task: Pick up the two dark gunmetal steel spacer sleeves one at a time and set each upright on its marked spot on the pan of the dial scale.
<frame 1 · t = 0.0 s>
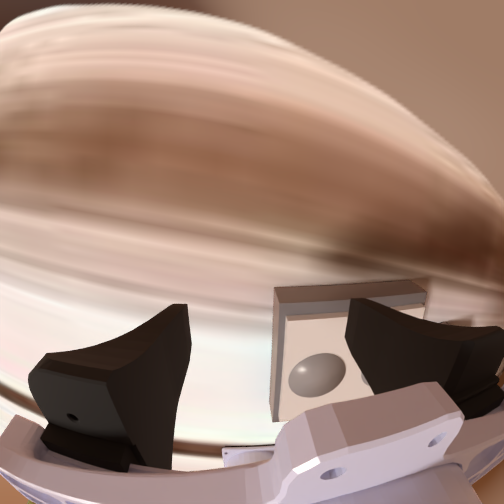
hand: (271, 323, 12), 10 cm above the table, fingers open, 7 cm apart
scale: (339, 347, 24), on the table
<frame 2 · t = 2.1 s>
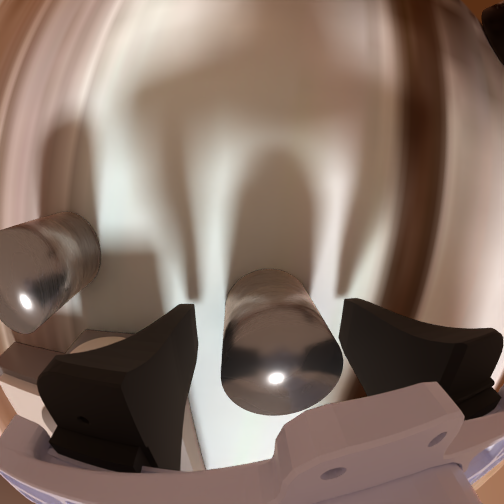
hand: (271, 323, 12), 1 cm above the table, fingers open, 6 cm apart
supplement bottle: (502, 45, 9), on the table
scale: (110, 424, 15), on the table
spacer b: (69, 250, 12), on the table
spacer a: (267, 308, 13), on the table
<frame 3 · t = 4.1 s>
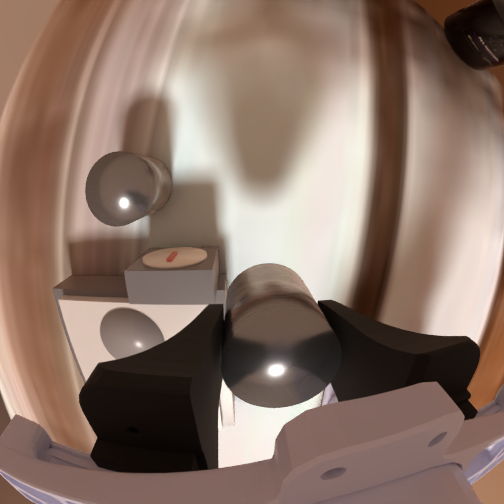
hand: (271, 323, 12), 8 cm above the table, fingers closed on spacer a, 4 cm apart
supplement bottle: (463, 44, 15), on the table
scale: (153, 347, 21), on the table
spacer b: (145, 185, 18), on the table
spacer a: (267, 303, 13), point 7 cm above the table, touching gripper
when the fingers open (6 cm above the table, at t = 5.6 s): spacer a stays where it is, resting on scale.
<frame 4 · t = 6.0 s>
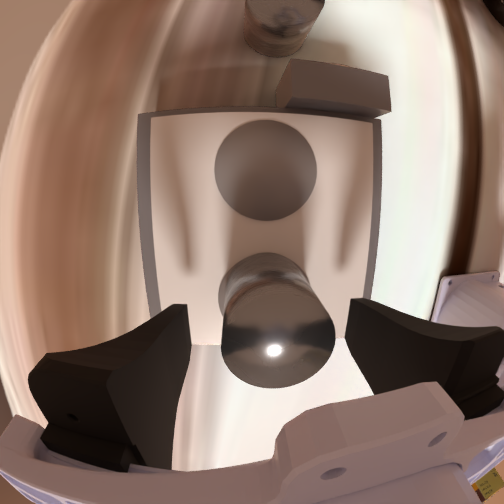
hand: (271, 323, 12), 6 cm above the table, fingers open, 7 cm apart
supplement bottle: (495, 10, 11), on the table
scale: (259, 224, 17), on the table
spacer b: (274, 33, 14), on the table
spacer a: (265, 290, 14), point 4 cm above the table, touching scale
protein box: (448, 460, 31), on the table
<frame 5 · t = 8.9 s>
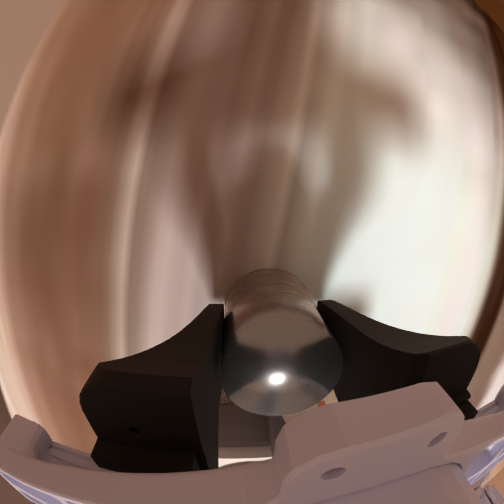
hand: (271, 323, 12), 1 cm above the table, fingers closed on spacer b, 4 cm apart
scale: (248, 457, 16), on the table
spacer b: (267, 308, 13), on the table, touching gripper
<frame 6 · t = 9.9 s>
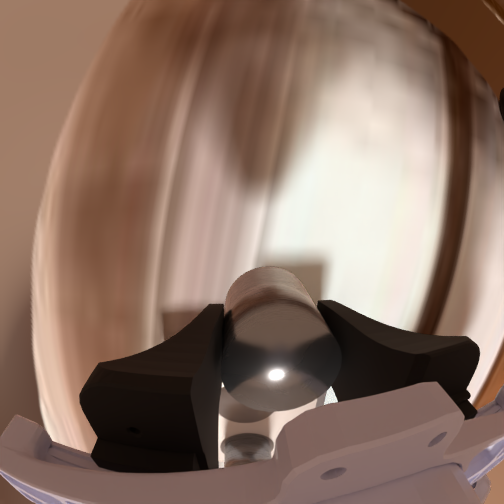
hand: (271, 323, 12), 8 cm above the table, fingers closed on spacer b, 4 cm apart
scale: (245, 397, 23), on the table
spacer b: (267, 306, 13), point 7 cm above the table, touching gripper
spacer a: (247, 445, 20), point 4 cm above the table, touching scale
when the fingers open (6 cm above the table, at t = 11.3 s): spacer b stays where it is, resting on scale.
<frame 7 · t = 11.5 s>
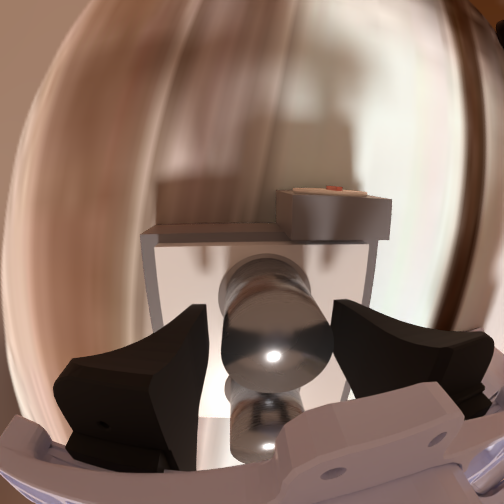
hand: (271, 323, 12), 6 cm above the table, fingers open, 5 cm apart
scale: (258, 317, 19), on the table
spacer b: (265, 295, 14), point 4 cm above the table, touching scale
spacer a: (263, 384, 16), point 4 cm above the table, touching scale
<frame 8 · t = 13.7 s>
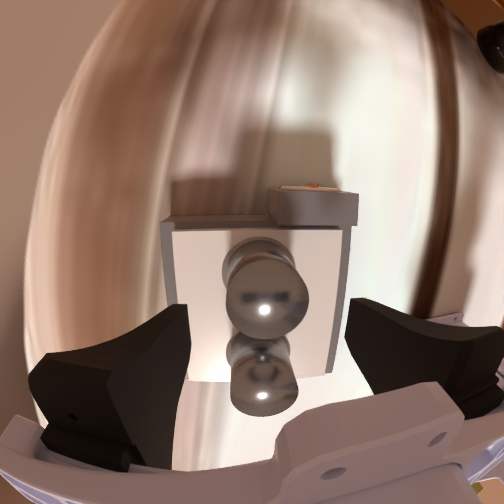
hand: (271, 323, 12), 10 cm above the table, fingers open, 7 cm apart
supplement bottle: (490, 52, 17), on the table
scale: (255, 294, 22), on the table
spacer b: (259, 270, 18), point 4 cm above the table, touching scale
spacer a: (258, 349, 19), point 4 cm above the table, touching scale
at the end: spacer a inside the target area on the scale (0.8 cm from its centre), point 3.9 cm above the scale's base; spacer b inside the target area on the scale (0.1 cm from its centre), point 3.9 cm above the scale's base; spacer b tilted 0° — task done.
